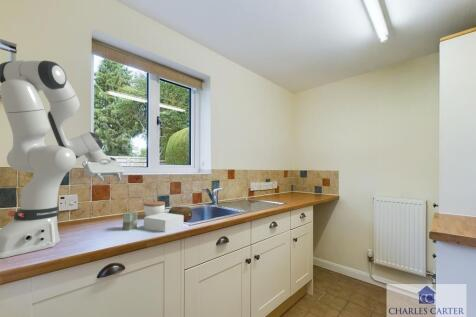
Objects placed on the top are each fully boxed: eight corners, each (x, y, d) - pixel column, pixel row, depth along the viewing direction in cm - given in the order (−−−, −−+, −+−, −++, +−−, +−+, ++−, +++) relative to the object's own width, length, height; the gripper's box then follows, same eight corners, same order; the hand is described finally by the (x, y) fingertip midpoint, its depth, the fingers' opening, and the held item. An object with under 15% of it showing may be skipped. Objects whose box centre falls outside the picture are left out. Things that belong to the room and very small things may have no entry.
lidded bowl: (144, 215, 145) (144, 198, 146) (164, 214, 149) (165, 198, 149) (142, 220, 133) (142, 201, 134) (164, 219, 137) (165, 200, 137)
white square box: (165, 232, 109) (165, 220, 109) (143, 229, 115) (144, 217, 115) (183, 226, 122) (183, 215, 122) (163, 223, 128) (163, 212, 128)
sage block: (129, 230, 111) (130, 214, 111) (122, 229, 113) (123, 213, 113) (136, 228, 115) (137, 212, 115) (130, 227, 117) (130, 211, 117)
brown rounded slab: (168, 220, 134) (168, 206, 134) (170, 219, 137) (171, 205, 137) (191, 222, 130) (191, 207, 131) (193, 221, 133) (194, 206, 134)
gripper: (83, 157, 114) (96, 177, 110) (118, 158, 133) (130, 176, 129) (77, 166, 115) (89, 186, 111) (112, 166, 134) (124, 183, 130)
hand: (112, 180), depth 120 cm, fingers open, 8 cm apart
